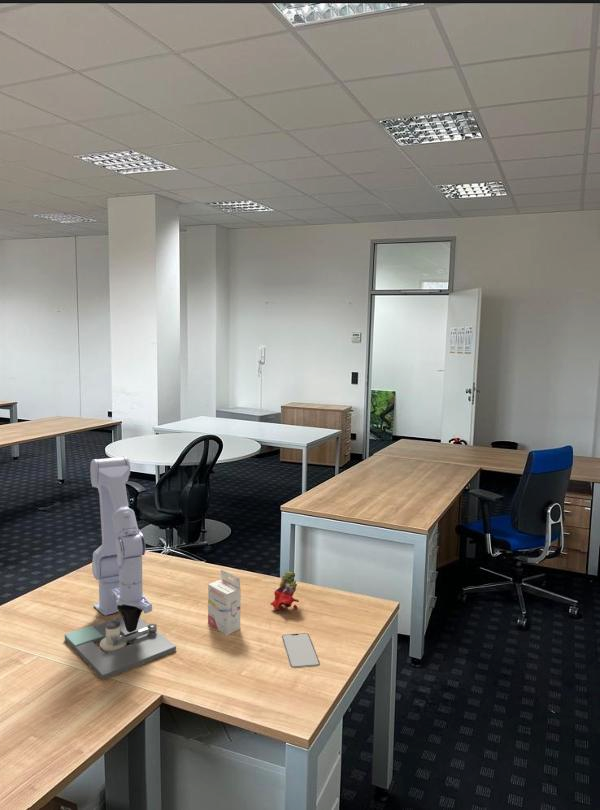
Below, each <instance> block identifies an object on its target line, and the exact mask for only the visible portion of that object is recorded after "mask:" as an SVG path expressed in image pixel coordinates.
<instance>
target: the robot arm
mask: <svg viewBox="0 0 600 810" xmlns="http://www.w3.org/2000/svg"><path fill="white" fill-rule="evenodd" d="M89 471H90V483H91V487H93V488H97V491H98V494H99V512H100V525H101V526H100V527H101V528H100V529H101V545H100V546H98V548H96V550H94V551H93V552H92V562H91V563H92V564H91V566H92V575H93V578H94V579H95V580H96V581H98V602H97V603H94V604H93V607H94V608H96V610H98V611H99V612H100V613H101V614H102V615H103V616H108V615H109V616H110V615H112V614H116V613H118V612H119V613H120V615H121V616H122V617H123V620H124V623H125V627H126V630H127V631H128V632H133V631H135V630H136V628H137V624H138V621H139V617H140V618H141V614H142V612H143V613H144V614H149V613H150V612H152V611H153V603H151V601H149V600H148V599H147V598H146V596H145V595H144V594H143V591H144V590H143V556H145V554H146V541H145V536H144V534H143V532H142V530H141V529H139V527H138V522H137V518H136V514H135V511H134V510H133V509H132V508H130V507H129V500H128V494H127V487H126V486H127V485H126V483H128V481H129V477H130V475H131V463H130V459H129V458H128V457H127V456H126V455H124V456H119V457H106V458H97V459H96V458H93V459H92V460H91V462H90V467H89Z"/></svg>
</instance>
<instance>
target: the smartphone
mask: <svg viewBox="0 0 600 810" xmlns="http://www.w3.org/2000/svg"><path fill="white" fill-rule="evenodd" d="M281 640H282V642H283V647H284V650H285V653H286V657H287V659H288V663H289V666H290V668H291V669H292V668H293V669H294V668H295V669H296V668H297V669H298V668H305V667H307V668H308V667H310V668H311V667H318V666H320V665H321V663H320V660H319V657H318V654H317V651H316V649H315V646H314V644H313V642H312V639H311V636H310V634H309V633H307V632H304V633H303V632H302V633H301V632H300V633H289V634H282V635H281Z"/></svg>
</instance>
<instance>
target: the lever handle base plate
mask: <svg viewBox="0 0 600 810" xmlns="http://www.w3.org/2000/svg"><path fill="white" fill-rule="evenodd" d="M111 621H118V622H119V623H120V635H121V636H124V635H126V634H129V633H132V632H128V631H127V630H126V627H125V623H124V620H123V617H122V615H121V616H118V617H116V618H113V619H112V618H111V619H109V620H107V621H104V622H100V623H98V624H95V625H88V626H85V627H83V628H79V629H76V630H73V631H70V632H67V633H65V634H64V640H65V641H66V643H67V644H68V645H69V646H70V647H71V648H72V649H73V650H74V651H75V653H77V654H78V655H79V656H80V657H81V659H82V660H84V661H85V663H86V665H88V666H89V667H90V668H91V669H92V670H93V671H94V672H95V673H96V675H98V677H100V679H102V680H103V681H104V680H107V679H109V678H111V677H112V678H113V677H114V676H117V675H119V674H121V673H124V672H126V671H129V670H132V669H133V668H137V667H139V666H141V665H145V664H146V663H149V662H151V661H155V660H156V659H159V658H162V657H164V656H167V655H169V654H172V653H174V652H176V651H177V645H176V644H174V643H172V641H171V640H169V639H167V638H166V637H165V636H164V635H163V634H161V633H160V632H159V631H158V630H157V631H156V632H155V633H147V634H145V635H142V636H139V637H137V638H134V639H131V640H128V641H127V642H128V643H129V644H128V645H127V644H126V646H125V647H122V648H119V649H117V650H114V651H111V652H109V653H104V652H103V651H102V650H100V647H99V646H97V644H100V641H101V640H102V639H104V638H105V637H106V624H107V623H108V622H111ZM149 624H150V623H147V622H146V621H145V620H144V619H142V618H141V616H140V617H139V621H138V624H137V628H136V630H135V631H138V630H140V629H143V628H146V627H147V626H148V625H149ZM135 631H133V632H135Z"/></svg>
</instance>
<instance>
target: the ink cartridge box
mask: <svg viewBox="0 0 600 810" xmlns="http://www.w3.org/2000/svg"><path fill="white" fill-rule="evenodd" d="M220 576H221V579H219V580H216V581H213V582H210V583H208V587H207V588H208V589H207V592H208V593H207V595H208V596H207V597H208V598H207V625H209V626H211V627H213V628H214V629H216V630H218V631H219V632H221V634H224V635H226V636H229V635H231V634H233V633H234V632H236V631H239V630H240V629H241V598H242V595H241V593H242V589H241V579H240V577H238V576H237V575H234V574H233V573H230V572H228V571H226V570H224V569H220ZM228 577H230V578H228Z"/></svg>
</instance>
